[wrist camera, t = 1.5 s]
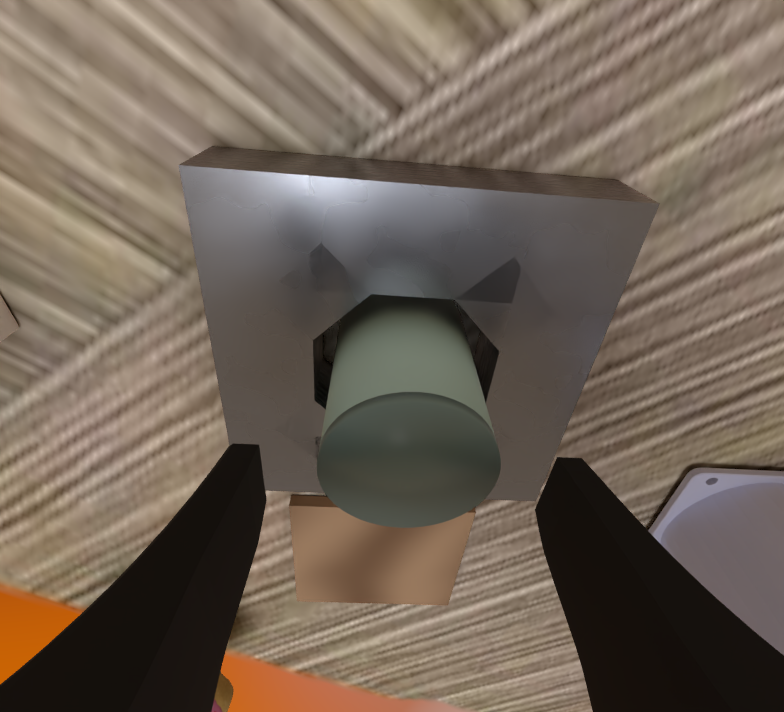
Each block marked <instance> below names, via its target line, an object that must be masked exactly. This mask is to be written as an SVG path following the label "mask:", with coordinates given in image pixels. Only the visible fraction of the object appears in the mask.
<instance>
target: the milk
mask: <svg viewBox="0 0 784 712" xmlns="http://www.w3.org/2000/svg"><path fill="white" fill-rule="evenodd" d="M18 327H19V326H18V324H17V322H16V320H15V319H14V317H13V315H12V314H11V312H10V310H9V309H8V307H7V305H6V303H5V302H4V300H3V298H2V297H1V295H0V342H2V341H3V340H4V339H6V338H7V337H8V336H9V335H11V334H12V333H13V332H15V331H16V330H17V329H18Z"/></svg>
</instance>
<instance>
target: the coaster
mask: <svg viewBox="0 0 784 712" xmlns="http://www.w3.org/2000/svg"><path fill="white" fill-rule="evenodd" d="M289 508H290V521H291V533H292V545H293V557H294V569H295V581H296V593H297V601H309V602H347V603H385V604H422V605H448V603H449V600H450V596H451V593H452V590H453V586H454V583H455V580H456V576H457V573H458V570H459V567H460V563H461V560H462V557H463V553H464V550H465V547H466V543H467V540H468V537H469V533H470V530H471V527H472V524H473V520H474V517H475V514H476V512H475V507H474V508H473V509H472V510H470V511H468V512H467V513H465V514H463V515H461V516H459V517H456V518H454V519H452V520H449V521H446V522H443V523H439V524H435V525H430V526H424V527H413V528H398V527H388V526H381V525H377V524H373V523H369V522H366V521H363V520H360V519H358V518H356V517H354V516H351V515H350V514H348V513H346V512H344V511H343V510H341V509H340V508H339V507H338V506H336V505H335V504H334V503H333V502H332V501H331V500H330V499H329V498H328V497H325V496H300V495H291V500H290V504H289Z"/></svg>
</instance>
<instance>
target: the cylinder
mask: <svg viewBox="0 0 784 712" xmlns="http://www.w3.org/2000/svg"><path fill="white" fill-rule="evenodd" d="M500 469H501V458H500V452H499V449H498V445H497V442H496V438H495V435H494V431H493V427H492V424H491V420H490V417H489V413H488V410H487V406H486V403H485V399H484V396H483V392H482V388H481V385H480V381H479V378H478V374H477V371H476V367H475V364H474V360H473V357H472V353H471V350H470V346H469V342H468V339H467V335H466V332H465V328H464V325H463V321H462V318H461V315H460V312H459V310H458V308H457V306H456V305H455V303H454V302H453V301H452V299H436V298H421V297H406V296H391V295H376V294H371V295H370V296H368V297H367V298H366V299H365V300H363V301H362V302H361V303H359V304H358V305H357V306H356V307H354V308H353V309H352V310H351V311H349V312H348V313H347V314H346V315H344V316H343V317H342V318H341V322H340V326H339V332H338V338H337V344H336V351H335V357H334V363H333V369H332V375H331V381H330V387H329V393H328V399H327V405H326V411H325V417H324V423H323V429H322V435H321V441H320V447H319V453H318V459H317V476H318V479H319V483H320V485H321V487H322V489H323V491H324V493H325V494H326V495H327V497H328V498H329V499H330V500H331V501H332V502H333V503H334V504H335V505H336V506H338V507H339V508H340V509H341V510H343V511H344V512H346V513H348V514H350V515H351V516H354V517H356V518H358V519H360V520H363V521H366V522H369V523H373V524H377V525H381V526H388V527H398V528H413V527H424V526H430V525H435V524H439V523H443V522H446V521H449V520H452V519H454V518H456V517H459V516H461V515H463V514H465V513H467V512H468V511H470V510H472V509H473V508H474V507H476V506H477V505H479V504H480V503H481V502H482V501H483V500H484V499H485V498H486V497H487V496H488V495H489V493H490V492H491V491H492V489H493V488H494V486H495V485H496V482H497V480H498V477H499V474H500Z"/></svg>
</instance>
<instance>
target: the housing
mask: <svg viewBox="0 0 784 712" xmlns="http://www.w3.org/2000/svg"><path fill="white" fill-rule="evenodd" d="M179 170H180V176H181V181H182V187H183V192H184V198H185V203H186V208H187V214H188V219H189V225H190V230H191V236H192V241H193V247H194V252H195V258H196V263H197V269H198V274H199V280H200V285H201V291H202V296H203V302H204V307H205V313H206V318H207V324H208V329H209V335H210V340H211V346H212V351H213V357H214V362H215V368H216V373H217V379H218V384H219V390H220V395H221V401H222V406H223V412H224V417H225V423H226V428H227V434H228V439H229V445H232V444H233V443H235V444H258V445H259V447H260V455H261V462H262V470H263V478H264V486H265V490H269V491H294V492H319V493H324V491H323V489H322V487H321V485H320V483H319V479H318V476H317V459H318V453H319V447H320V441H321V435H322V429H323V423H324V417H325V411H326V405H327V399H328V393H329V387H330V381H331V375H332V369H333V366H332V365H331V364H329V363H328V362H327V361H326V360H325V359H324V358H323V332H324V331H325V330H327V329H328V328H329V327H330V326H332V325H333V324H334V323H335V322H337V321H338V320H339V319H341V318H342V317H343V316H344V315H346V314H347V313H348V312H349V311H351V310H352V309H353V308H354V307H356V306H357V305H358V304H359V303H361V302H362V301H363V300H365V299H366V298H367V297H368V296H370V295H371V294H376V295H391V296H406V297H421V298H436V299H452V300H455V301H456V302H457V303H458V304H459V305H460V307H461V308H462V309H463V310H464V311H465V312H466V313H467V315H468V316H469V317H470V318H471V319H472V320H473V322H474V323H475V324H476V325H477V326H478V327H479V328H480V330H481V331H480V335H479V340H478V344H477V349H476V353H475V357H474V364H475V367H476V371H477V374H478V378H479V381H480V385H481V388H482V392H483V396H484V399H485V403H486V406H487V410H488V413H489V417H490V420H491V424H492V427H493V431H494V435H495V438H496V442H497V445H498V449H499V452H500V458H501V469H500V474H499V477H498V480H497V482H496V485H495V486H494V488H493V489H492V491H491V492H490V493H489V495H488V496H487V497H486V498H485V499H492V500H517V501H536V499H537V497H538V495H539V492H540V490H541V487H542V485H543V483H544V480H545V478H546V475H547V473H548V471H549V468H550V466H551V463H552V461H553V459H554V456H555V454H556V451H557V449H558V446H559V444H560V442H561V439H562V437H563V434H564V432H565V430H566V427H567V425H568V422H569V420H570V418H571V415H572V413H573V410H574V408H575V406H576V403H577V401H578V398H579V396H580V394H581V391H582V389H583V386H584V384H585V382H586V379H587V377H588V374H589V372H590V370H591V367H592V365H593V362H594V360H595V358H596V355H597V353H598V350H599V348H600V346H601V343H602V341H603V338H604V336H605V334H606V331H607V329H608V326H609V324H610V322H611V319H612V317H613V314H614V312H615V310H616V307H617V305H618V302H619V300H620V298H621V295H622V293H623V290H624V288H625V286H626V283H627V281H628V278H629V276H630V274H631V271H632V269H633V266H634V264H635V262H636V259H637V257H638V254H639V252H640V250H641V247H642V245H643V242H644V240H645V238H646V235H647V233H648V230H649V228H650V226H651V223H652V221H653V218H654V216H655V214H656V211H657V209H658V206H659V203H657V202H656V201H654V200H652V199H650V198H649V197H647V196H645V195H643V194H642V193H640V192H638V191H636V190H634V189H633V188H631V187H629V186H627V185H626V184H624V183H622V182H620V181H619V180H613V179H601V178H589V177H577V176H565V175H553V174H541V173H529V172H517V171H504V170H492V169H480V168H468V167H456V166H444V165H432V164H420V163H408V162H396V161H384V160H372V159H360V158H348V157H336V156H324V155H311V154H299V153H287V152H275V151H263V150H251V149H239V148H227V147H215V146H212V147H210V148H208V149H206V150H204V151H203V152H201V153H199V154H197V155H196V156H194V157H192V158H190V159H189V160H187V161H185V162H183V163H181V164H180V165H179Z"/></svg>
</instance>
